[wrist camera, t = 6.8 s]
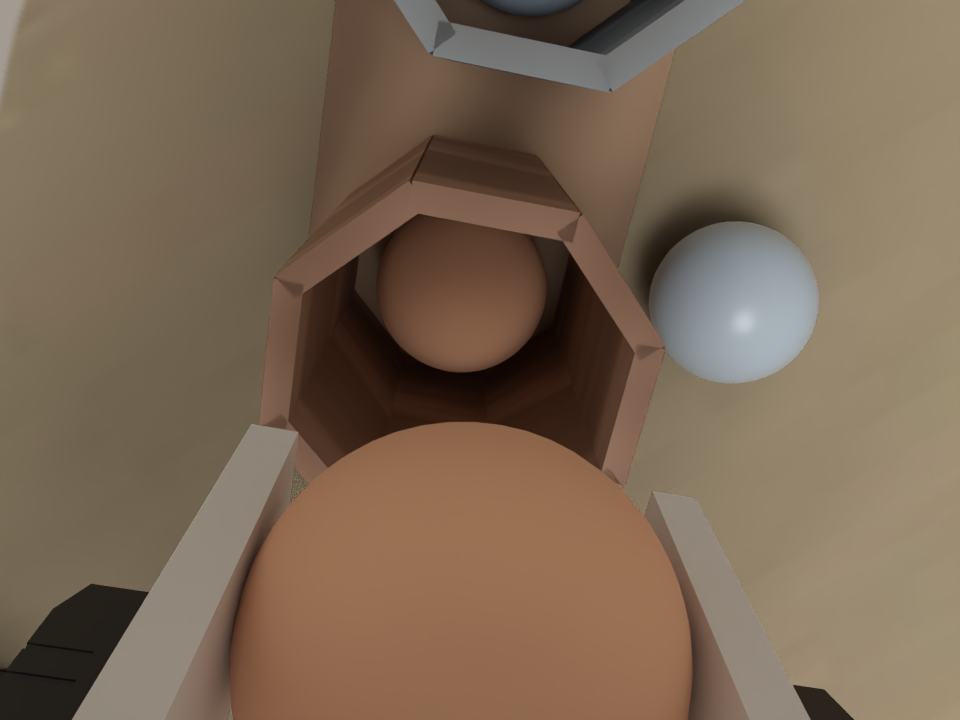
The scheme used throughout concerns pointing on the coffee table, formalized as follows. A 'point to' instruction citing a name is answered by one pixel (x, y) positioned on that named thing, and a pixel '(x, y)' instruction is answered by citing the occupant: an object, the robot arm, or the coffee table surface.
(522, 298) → the terracotta ball
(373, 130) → the twin cylinders
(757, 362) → the slate ball
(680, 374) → the coffee table surface
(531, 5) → the slate ball
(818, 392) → the coffee table surface
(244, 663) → the terracotta ball
